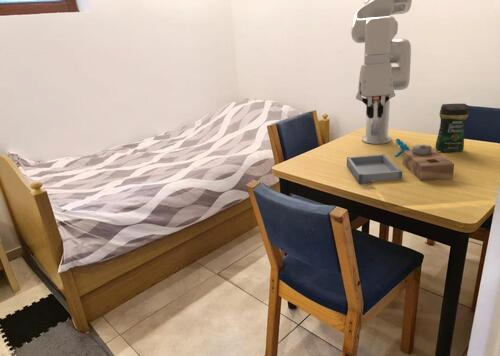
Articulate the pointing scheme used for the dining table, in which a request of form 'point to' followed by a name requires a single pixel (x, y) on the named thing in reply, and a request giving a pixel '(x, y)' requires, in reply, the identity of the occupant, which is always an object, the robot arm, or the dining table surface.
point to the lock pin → (375, 116)
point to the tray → (373, 168)
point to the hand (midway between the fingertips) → (374, 116)
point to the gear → (402, 146)
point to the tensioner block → (427, 163)
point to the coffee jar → (452, 128)
